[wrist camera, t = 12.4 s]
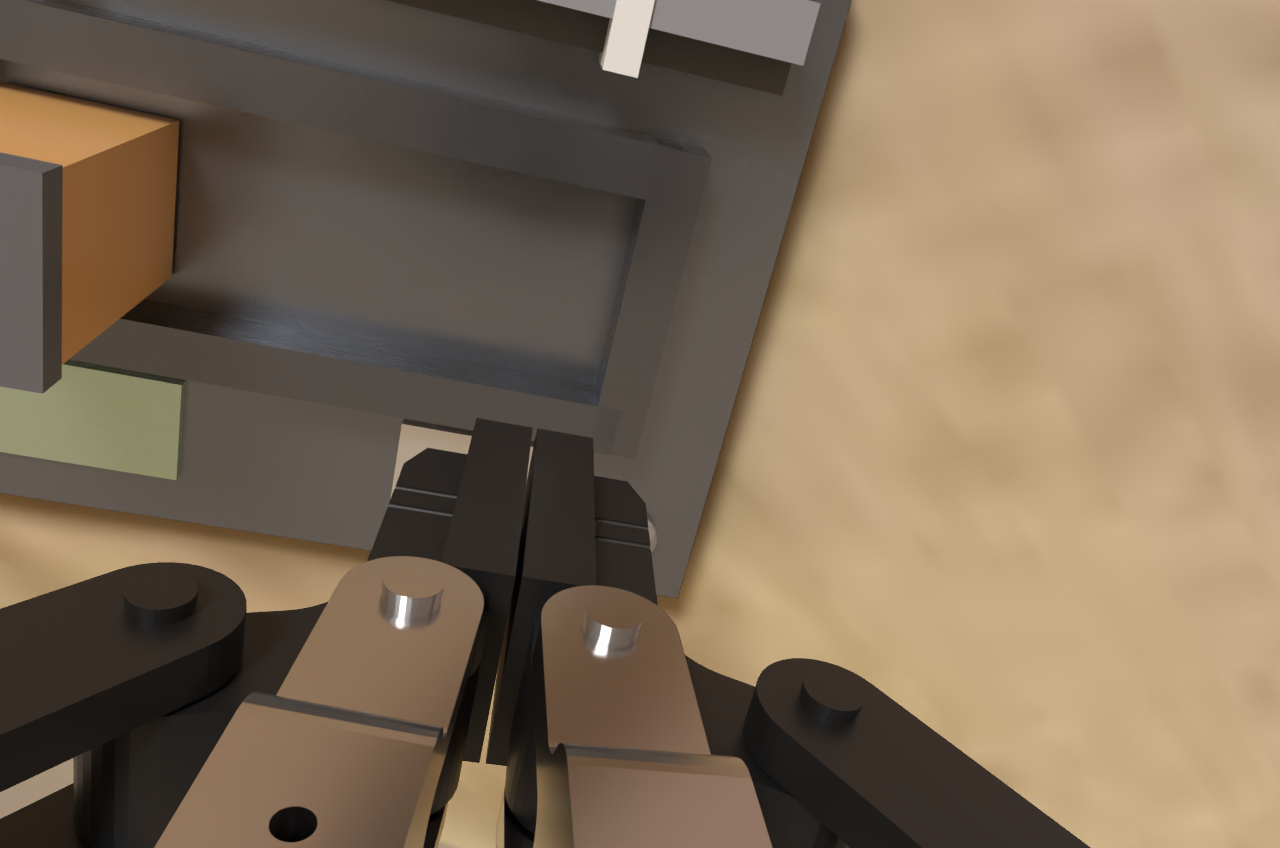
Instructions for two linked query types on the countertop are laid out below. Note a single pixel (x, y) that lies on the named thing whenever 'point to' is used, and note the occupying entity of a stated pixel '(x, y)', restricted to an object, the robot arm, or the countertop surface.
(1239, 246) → the countertop surface
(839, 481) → the countertop surface
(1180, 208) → the countertop surface
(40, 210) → the lever
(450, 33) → the breaker panel
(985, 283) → the countertop surface
